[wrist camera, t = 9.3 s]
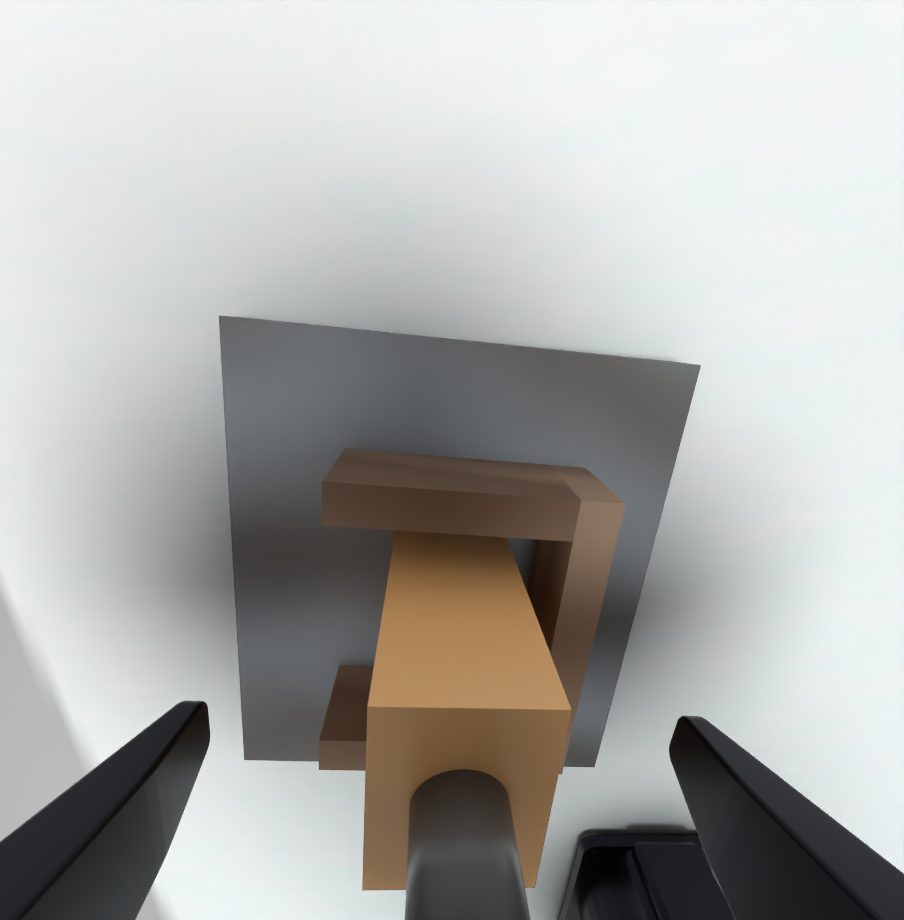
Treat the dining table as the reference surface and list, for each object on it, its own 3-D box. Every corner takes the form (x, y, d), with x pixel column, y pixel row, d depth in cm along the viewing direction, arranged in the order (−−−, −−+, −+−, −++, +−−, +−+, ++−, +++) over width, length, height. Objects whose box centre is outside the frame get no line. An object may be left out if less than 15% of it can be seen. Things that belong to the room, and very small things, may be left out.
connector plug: (488, 644, 13) (572, 1080, 6) (391, 641, 13) (338, 1091, 5) (503, 528, 12) (634, 876, 4) (396, 523, 12) (338, 880, 4)
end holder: (584, 740, 16) (625, 850, 13) (256, 732, 15) (206, 848, 12) (678, 362, 12) (777, 375, 9) (237, 317, 11) (152, 311, 8)
